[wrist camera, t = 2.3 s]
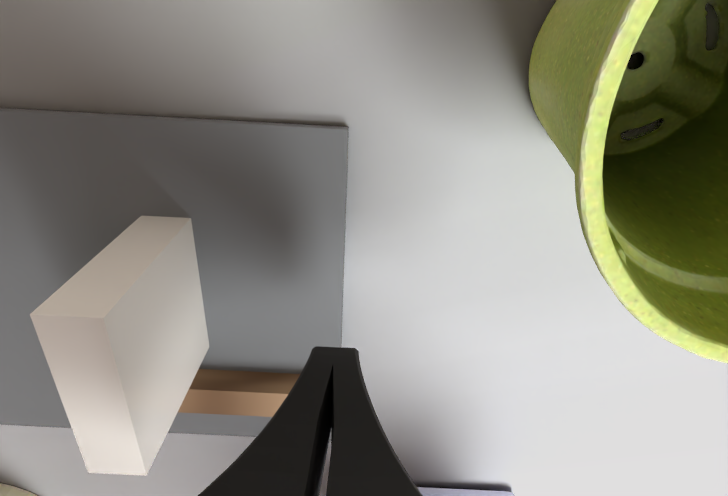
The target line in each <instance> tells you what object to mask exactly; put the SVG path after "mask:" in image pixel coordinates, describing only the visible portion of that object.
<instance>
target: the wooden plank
mask: <svg viewBox="0 0 728 496" xmlns="http://www.w3.org/2000/svg"><path fill="white" fill-rule="evenodd" d="M299 376H300V374H292V373H272V372H251V371H231V370H211V369H198V371H197V373H196V375H195V377H194V379H193V381H192V384H191V386H190V388H189V390H188V392H187V394H186V396H185V398H184V400H183V402H182V404H181V406H180V408H179V410H178V412H180V413H201V414H221V415H242V416H263V417H273V416H274V414H275V413H276V411H277V410H278V409H279V407H280V406H281V404H282V403H283V401H284V400H285V399H286V397H287V396H288V394H289V392H290V391H291V389H292V387H293V386H294V384H295V383H296V381H297V379H298V378H299Z"/></svg>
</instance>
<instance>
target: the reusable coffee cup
mask: <svg viewBox="0 0 728 496" xmlns="http://www.w3.org/2000/svg"><path fill="white" fill-rule="evenodd" d="M0 496H37V495H35V494H33V493H31V492H29V491H26V490H23V489H20V488H17V487H14V486H10V485H6V484H2V483H0Z"/></svg>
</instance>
